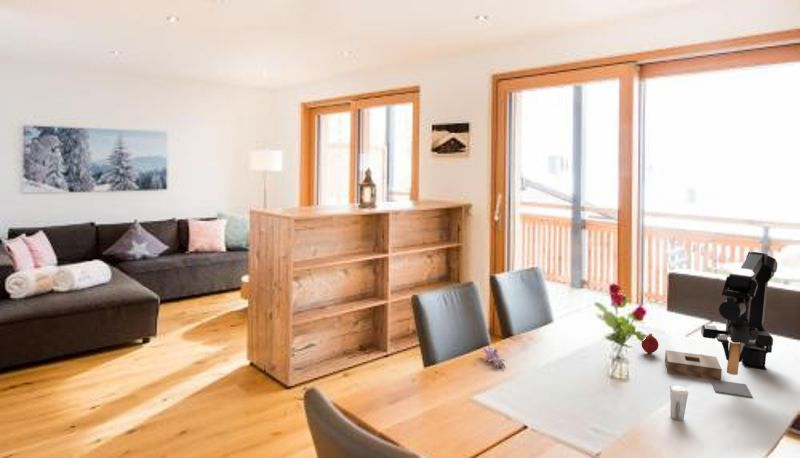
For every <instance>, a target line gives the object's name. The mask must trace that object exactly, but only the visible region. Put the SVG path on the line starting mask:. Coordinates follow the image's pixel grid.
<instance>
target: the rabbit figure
mask: <svg viewBox="0 0 800 458" xmlns="http://www.w3.org/2000/svg"><path fill="white" fill-rule="evenodd" d="M483 351H484V353H485V354H486V355H485V358H486V360H488V362H489V363H490V362H493V367H494V368H495V369H496V370H497V371H498V370H500V368H503V369H504V370H506V365H505V363H504V362H505V361H506V359H503V358H500V354H499V352H498V349H496V348H494V347H493V346H487V347H486V346H483Z"/></svg>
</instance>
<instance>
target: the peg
mask: <svg viewBox="0 0 800 458" xmlns="http://www.w3.org/2000/svg"><path fill="white" fill-rule="evenodd" d="M740 347H741V343H739V342H737V343H735V342H732V341H731V340H729V359H728V360H727V365H726V373H727V374H728V375H732V376H737V375H739V365H740V364H739V363H740V362H739V357H740Z"/></svg>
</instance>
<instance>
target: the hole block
mask: <svg viewBox="0 0 800 458" xmlns="http://www.w3.org/2000/svg"><path fill="white" fill-rule="evenodd" d="M664 355H665V356H664V362H665V363H664V364H665V369H666V373H667V374H673V375H681V376H686V377H687V376H688V377H693V378H701V379H708V380H711V379H714V380H721V381H722V370H723V369H722V367H721V364H720V363H719V360H718V357H717V356H712V355H705V354H697V353H691V352H683V351H674V350H668V349H666V350H665V354H664Z"/></svg>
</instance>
